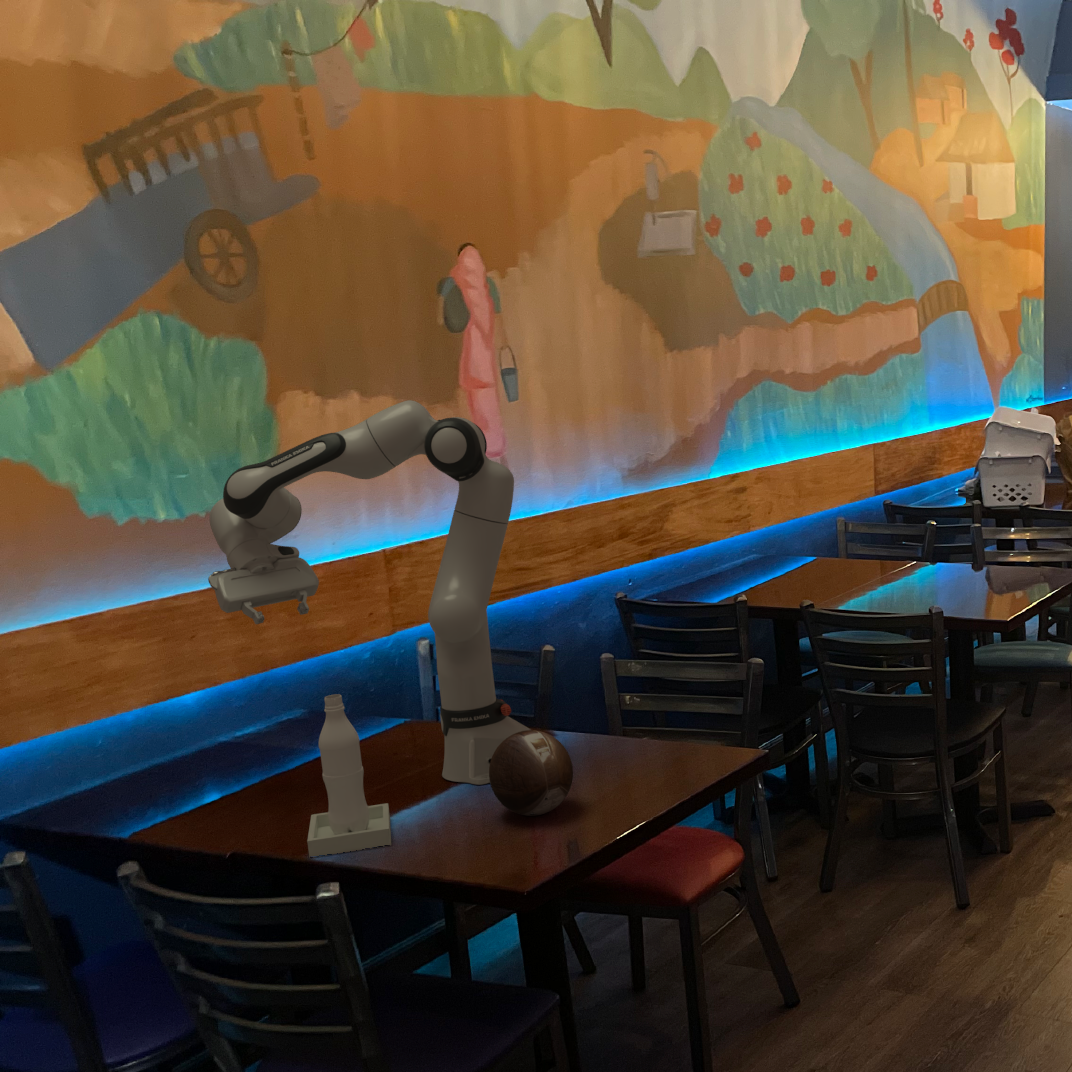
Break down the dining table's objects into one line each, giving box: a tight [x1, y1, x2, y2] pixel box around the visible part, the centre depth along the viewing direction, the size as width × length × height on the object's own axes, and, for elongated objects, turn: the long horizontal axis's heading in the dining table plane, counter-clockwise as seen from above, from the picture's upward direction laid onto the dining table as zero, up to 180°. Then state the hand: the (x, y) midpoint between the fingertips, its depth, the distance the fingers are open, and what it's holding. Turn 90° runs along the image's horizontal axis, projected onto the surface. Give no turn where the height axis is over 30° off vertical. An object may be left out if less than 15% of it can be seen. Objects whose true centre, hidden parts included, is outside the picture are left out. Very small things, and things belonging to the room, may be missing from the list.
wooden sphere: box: [489, 729, 574, 817], centre depth 216 cm, size 15×15×15 cm
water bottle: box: [318, 693, 370, 835], centre depth 213 cm, size 7×7×25 cm
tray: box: [306, 802, 392, 858], centre depth 214 cm, size 14×14×3 cm
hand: (283, 616), depth 232 cm, fingers open, 8 cm apart
